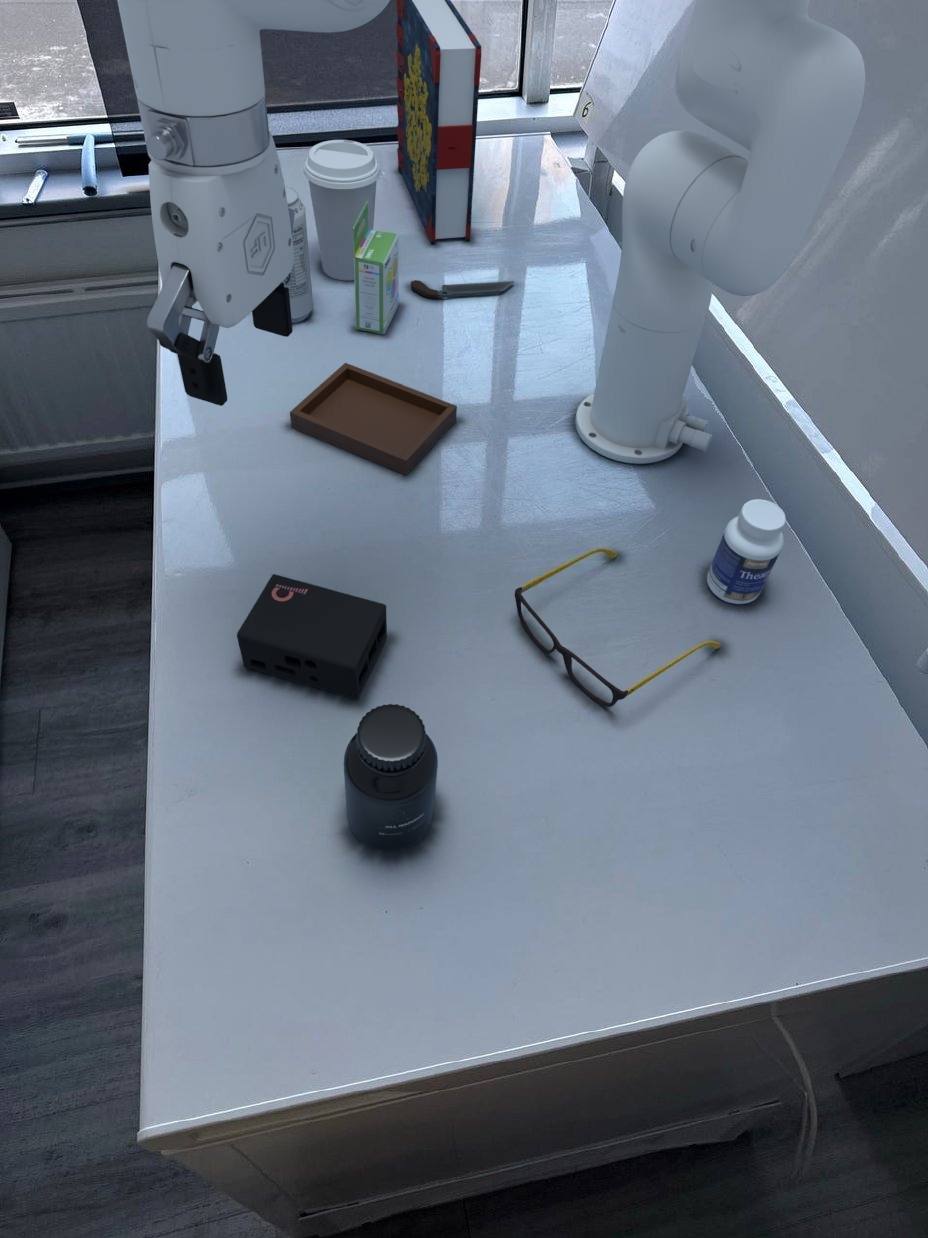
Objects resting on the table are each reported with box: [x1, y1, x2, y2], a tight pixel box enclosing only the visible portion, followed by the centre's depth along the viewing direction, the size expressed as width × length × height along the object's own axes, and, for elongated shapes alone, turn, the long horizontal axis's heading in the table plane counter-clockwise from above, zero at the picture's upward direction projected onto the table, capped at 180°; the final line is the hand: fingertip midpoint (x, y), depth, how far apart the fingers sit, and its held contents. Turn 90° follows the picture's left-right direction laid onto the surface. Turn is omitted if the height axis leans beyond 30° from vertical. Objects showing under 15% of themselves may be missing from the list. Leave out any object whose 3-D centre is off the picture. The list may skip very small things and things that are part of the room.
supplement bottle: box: [343, 703, 439, 852], centre depth 66 cm, size 7×7×12 cm
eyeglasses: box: [514, 547, 722, 708], centre depth 82 cm, size 14×14×4 cm
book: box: [395, 0, 482, 245], centre depth 125 cm, size 25×7×25 cm, turn 14°
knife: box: [410, 279, 515, 299], centre depth 119 cm, size 14×4×1 cm, turn 101°
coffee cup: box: [302, 139, 381, 282], centre depth 116 cm, size 10×10×15 cm
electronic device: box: [236, 573, 388, 700], centre depth 78 cm, size 7×11×5 cm
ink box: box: [353, 201, 400, 335], centre depth 109 cm, size 7×4×13 cm, turn 168°
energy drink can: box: [284, 185, 314, 324], centre depth 108 cm, size 6×6×15 cm
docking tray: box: [289, 362, 458, 476], centre depth 100 cm, size 15×11×2 cm
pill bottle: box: [706, 498, 787, 605], centre depth 85 cm, size 5×5×10 cm
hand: (241, 363), depth 68 cm, fingers open, 9 cm apart
